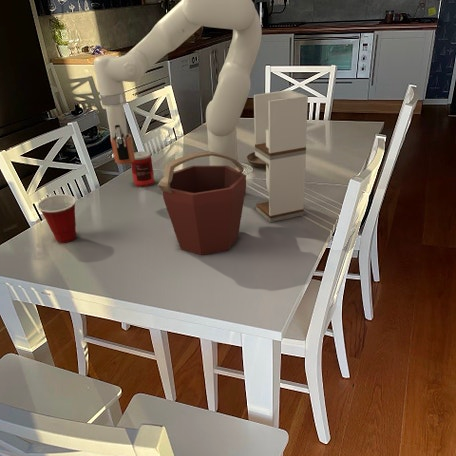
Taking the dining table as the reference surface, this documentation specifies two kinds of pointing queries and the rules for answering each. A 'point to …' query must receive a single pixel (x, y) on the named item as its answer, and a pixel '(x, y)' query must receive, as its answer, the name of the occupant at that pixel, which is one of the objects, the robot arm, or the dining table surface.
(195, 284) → the dining table surface
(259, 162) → the plant saucer
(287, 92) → the tall white stacked tower
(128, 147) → the pot
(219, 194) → the bucket
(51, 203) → the plastic cup
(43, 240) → the dining table surface
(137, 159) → the canned food
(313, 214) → the dining table surface
